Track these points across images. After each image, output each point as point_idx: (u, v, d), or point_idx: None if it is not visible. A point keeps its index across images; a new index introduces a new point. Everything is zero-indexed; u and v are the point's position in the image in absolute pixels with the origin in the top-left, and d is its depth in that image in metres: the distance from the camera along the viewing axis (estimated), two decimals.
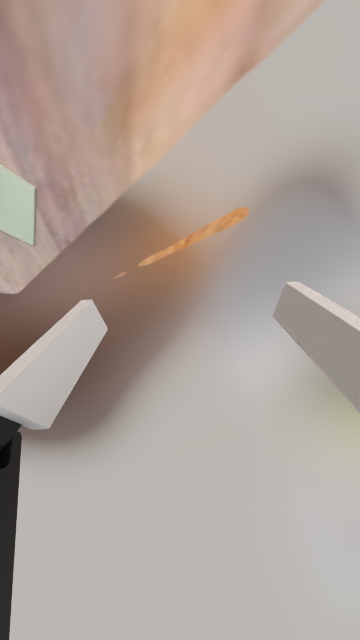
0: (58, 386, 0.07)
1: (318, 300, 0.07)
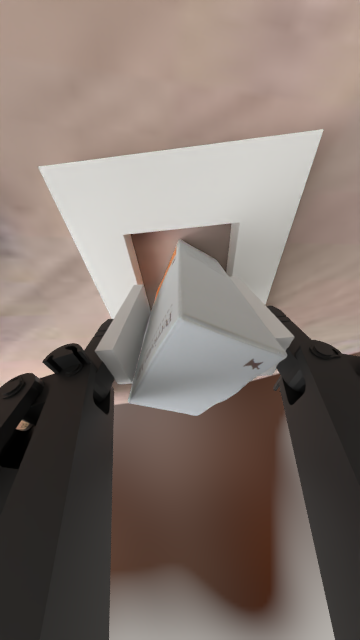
0: (134, 351, 0.08)
1: (241, 290, 0.09)
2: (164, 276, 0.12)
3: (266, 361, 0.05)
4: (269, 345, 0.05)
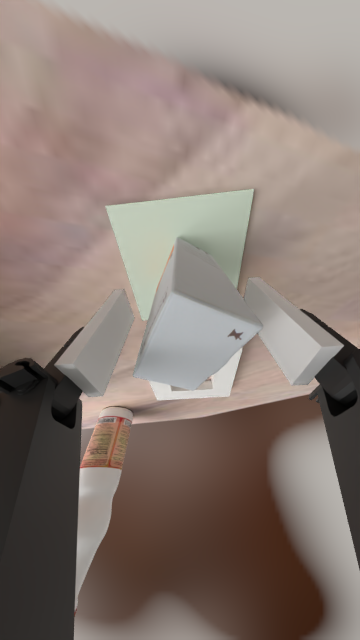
0: (107, 361, 0.08)
1: (268, 292, 0.08)
2: None
3: (246, 331, 0.06)
4: (247, 317, 0.06)
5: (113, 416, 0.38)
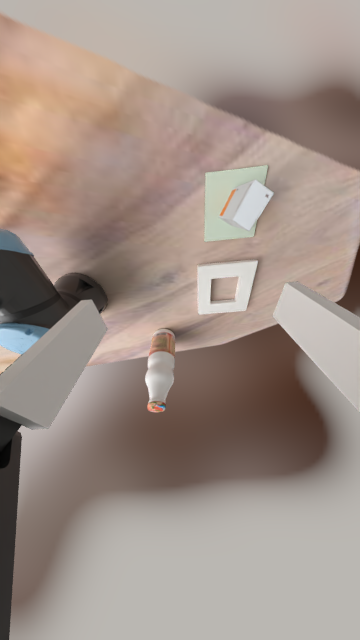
0: (58, 386, 0.07)
1: (318, 300, 0.07)
2: (228, 202, 0.31)
3: (269, 194, 0.23)
4: None
5: (164, 332, 0.55)
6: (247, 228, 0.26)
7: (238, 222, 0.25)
